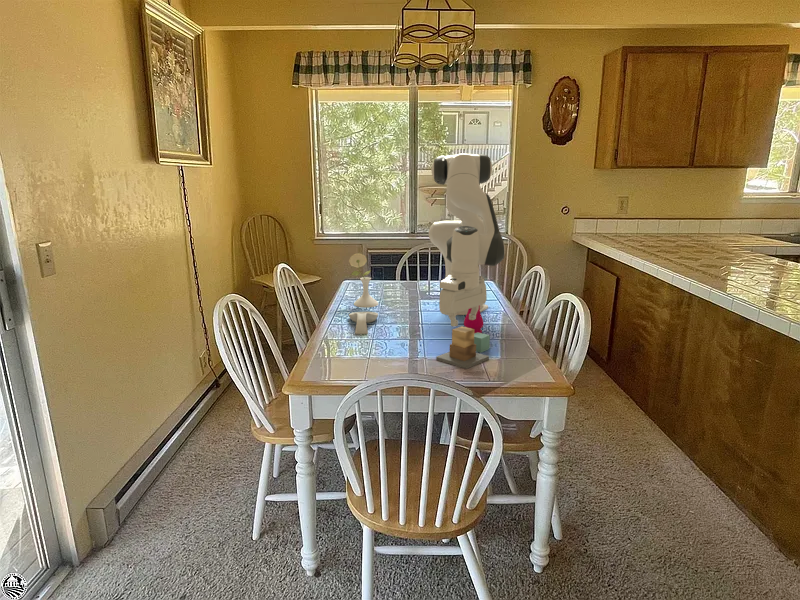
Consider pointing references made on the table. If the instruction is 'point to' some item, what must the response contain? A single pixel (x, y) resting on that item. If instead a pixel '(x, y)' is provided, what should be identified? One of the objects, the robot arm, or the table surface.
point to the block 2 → (481, 342)
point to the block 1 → (463, 337)
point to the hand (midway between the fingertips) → (463, 322)
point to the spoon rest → (362, 320)
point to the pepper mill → (474, 321)
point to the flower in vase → (365, 299)
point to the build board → (461, 363)
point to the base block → (462, 352)
